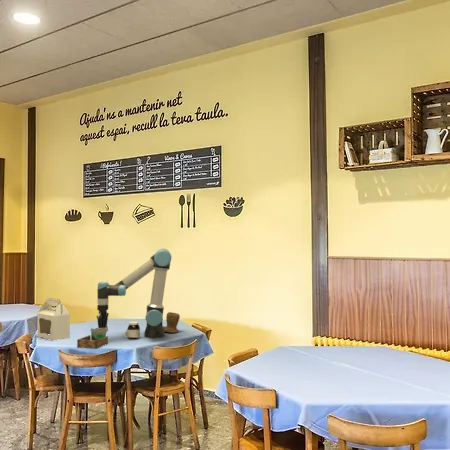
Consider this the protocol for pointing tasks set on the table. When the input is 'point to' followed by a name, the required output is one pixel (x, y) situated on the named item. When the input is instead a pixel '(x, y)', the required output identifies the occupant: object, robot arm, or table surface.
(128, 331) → the spread jar
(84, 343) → the walnut pen
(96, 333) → the food container
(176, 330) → the brown ankle boot
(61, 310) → the gable box
